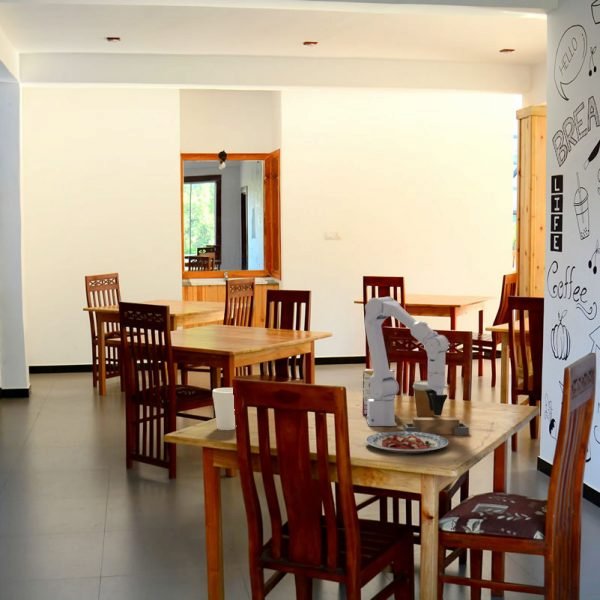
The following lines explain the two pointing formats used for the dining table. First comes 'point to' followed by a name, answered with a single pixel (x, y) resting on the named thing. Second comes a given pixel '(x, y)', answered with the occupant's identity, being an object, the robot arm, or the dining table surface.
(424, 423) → the slat
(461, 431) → the end cap
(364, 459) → the dining table surface
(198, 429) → the dining table surface
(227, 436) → the dining table surface
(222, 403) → the foam cup
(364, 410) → the candy bar box
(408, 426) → the end cap
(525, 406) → the dining table surface
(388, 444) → the ceramic plate
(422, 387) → the disposable coffee cup
